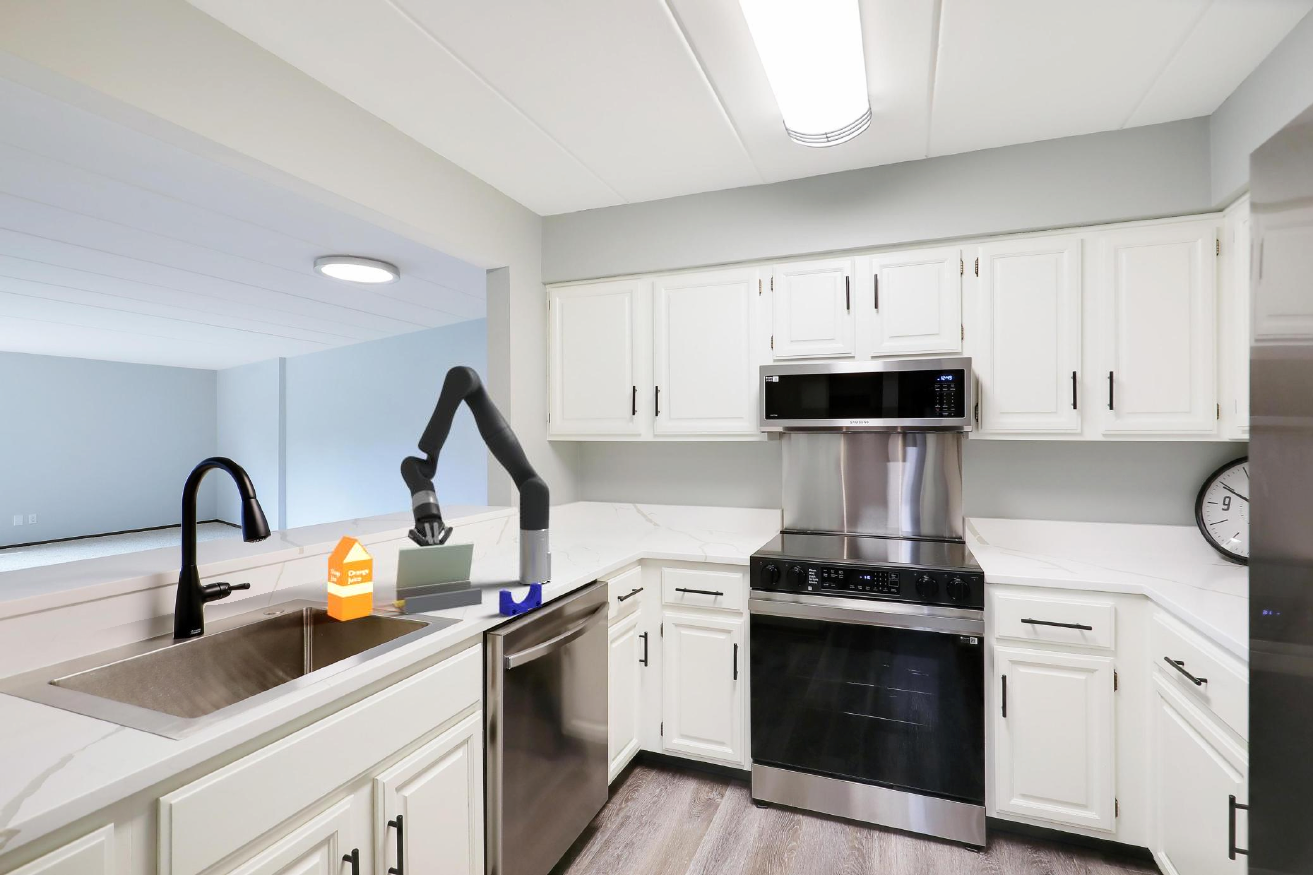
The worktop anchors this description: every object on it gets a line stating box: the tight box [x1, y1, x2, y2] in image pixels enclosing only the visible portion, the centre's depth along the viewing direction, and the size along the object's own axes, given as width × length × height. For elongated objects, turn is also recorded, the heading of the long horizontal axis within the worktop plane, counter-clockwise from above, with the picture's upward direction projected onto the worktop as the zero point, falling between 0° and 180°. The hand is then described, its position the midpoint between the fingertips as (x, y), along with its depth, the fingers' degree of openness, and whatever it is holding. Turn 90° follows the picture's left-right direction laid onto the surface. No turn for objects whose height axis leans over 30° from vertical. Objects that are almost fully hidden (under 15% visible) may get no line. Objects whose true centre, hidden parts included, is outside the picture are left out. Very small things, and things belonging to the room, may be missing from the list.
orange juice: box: [327, 535, 374, 622], centre depth 155 cm, size 8×9×20 cm
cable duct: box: [393, 580, 483, 614], centre depth 166 cm, size 23×12×4 cm, turn 124°
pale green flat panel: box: [395, 541, 475, 590], centre depth 170 cm, size 20×12×1 cm
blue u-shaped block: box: [498, 583, 543, 618], centre depth 160 cm, size 12×4×6 cm, turn 142°
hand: (435, 556), depth 170 cm, fingers closed
